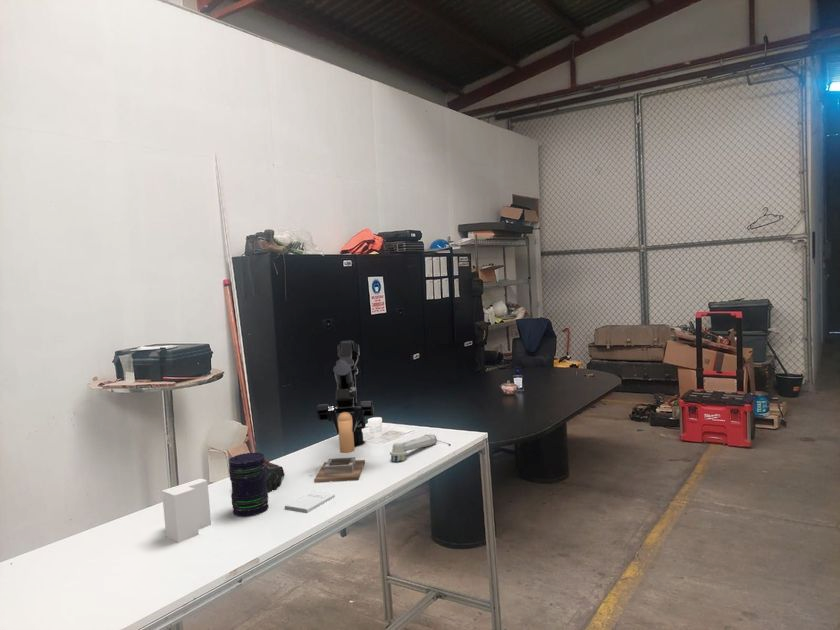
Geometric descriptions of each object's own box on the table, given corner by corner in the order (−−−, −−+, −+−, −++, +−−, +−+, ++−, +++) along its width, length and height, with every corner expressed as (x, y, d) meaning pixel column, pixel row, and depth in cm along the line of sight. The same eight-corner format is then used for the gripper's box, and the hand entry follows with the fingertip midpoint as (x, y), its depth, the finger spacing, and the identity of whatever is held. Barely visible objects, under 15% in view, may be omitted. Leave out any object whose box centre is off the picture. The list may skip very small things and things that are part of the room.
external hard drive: (284, 511, 163) (313, 495, 174) (307, 515, 159) (335, 498, 170) (284, 505, 163) (312, 490, 174) (307, 509, 159) (334, 493, 170)
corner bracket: (178, 542, 145) (174, 495, 145) (157, 532, 153) (153, 487, 152) (217, 527, 153) (213, 482, 153) (196, 518, 161) (192, 475, 160)
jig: (324, 465, 202) (324, 455, 202) (364, 462, 202) (364, 452, 202) (314, 482, 184) (313, 472, 184) (358, 479, 184) (357, 469, 184)
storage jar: (272, 502, 169) (268, 451, 169) (265, 515, 160) (261, 461, 159) (237, 505, 169) (232, 454, 168) (228, 518, 159) (223, 464, 158)
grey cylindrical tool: (438, 434, 219) (399, 442, 198) (438, 452, 219) (399, 462, 198) (426, 433, 222) (387, 440, 201) (426, 450, 222) (386, 460, 201)
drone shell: (255, 499, 173) (253, 473, 173) (214, 490, 184) (212, 465, 184) (306, 477, 190) (305, 453, 190) (266, 470, 201) (264, 447, 201)
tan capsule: (337, 450, 194) (334, 412, 193) (351, 448, 196) (348, 409, 195) (343, 454, 189) (340, 414, 189) (356, 451, 192) (354, 412, 191)
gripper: (314, 381, 195) (313, 421, 185) (370, 377, 196) (372, 416, 186) (319, 399, 203) (318, 439, 193) (372, 395, 204) (374, 434, 194)
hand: (345, 432), depth 191 cm, fingers closed on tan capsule, 5 cm apart
